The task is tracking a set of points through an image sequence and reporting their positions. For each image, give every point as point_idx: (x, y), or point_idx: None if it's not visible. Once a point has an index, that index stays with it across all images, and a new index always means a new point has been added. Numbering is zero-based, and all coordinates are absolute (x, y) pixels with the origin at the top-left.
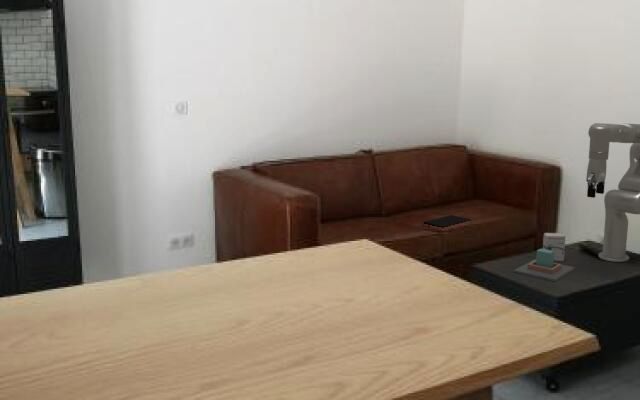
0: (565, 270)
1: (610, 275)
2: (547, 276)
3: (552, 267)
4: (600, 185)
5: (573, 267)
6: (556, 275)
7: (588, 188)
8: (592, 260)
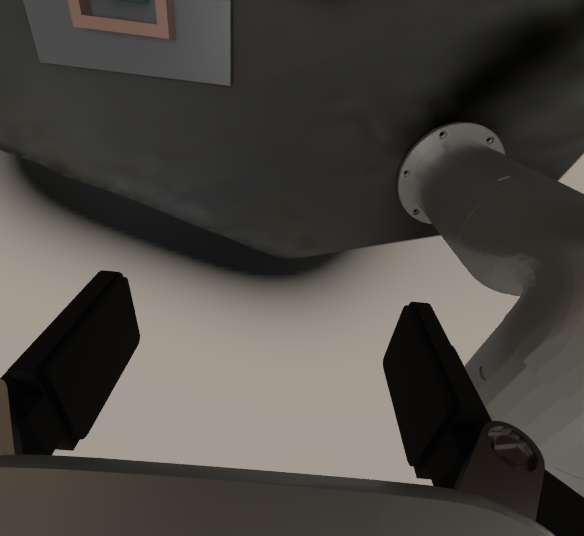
0: (168, 64)
1: (248, 207)
2: (42, 19)
3: (137, 1)
4: (421, 435)
5: (225, 82)
6: (85, 51)
7: (25, 367)
8: (385, 115)
